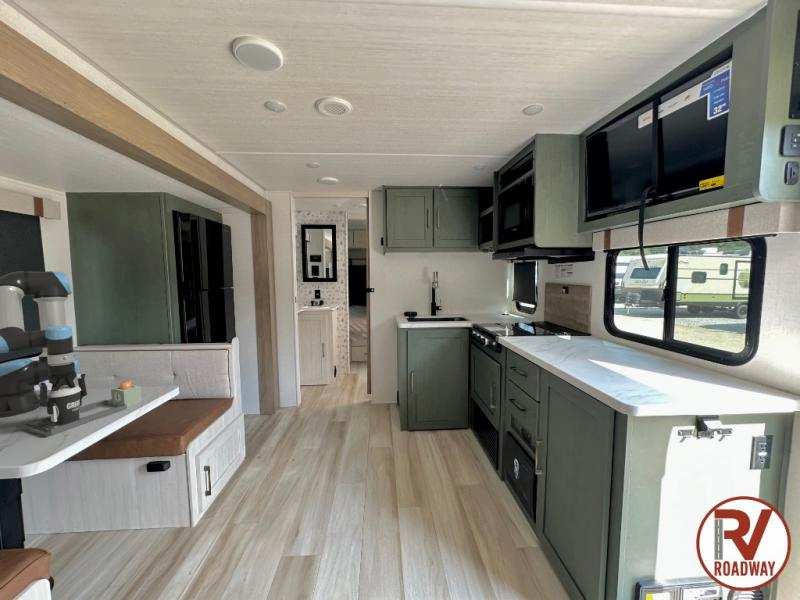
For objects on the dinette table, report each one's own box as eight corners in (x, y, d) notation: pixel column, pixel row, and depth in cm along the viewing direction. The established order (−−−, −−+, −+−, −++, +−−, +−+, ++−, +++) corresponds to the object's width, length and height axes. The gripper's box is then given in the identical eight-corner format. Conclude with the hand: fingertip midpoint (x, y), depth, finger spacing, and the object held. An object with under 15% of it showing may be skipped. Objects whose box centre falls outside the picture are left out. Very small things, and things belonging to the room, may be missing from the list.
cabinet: (110, 405, 151) (109, 389, 150) (129, 399, 158) (128, 383, 157) (123, 408, 147) (122, 391, 146) (141, 402, 154) (140, 386, 153)
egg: (119, 395, 151) (118, 383, 151) (128, 392, 155) (127, 380, 154) (124, 396, 150) (123, 384, 149) (133, 393, 153) (132, 381, 153)
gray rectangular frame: (24, 429, 127) (23, 423, 127) (105, 404, 151) (104, 399, 151) (46, 437, 121) (45, 431, 120) (127, 409, 145) (126, 404, 145)
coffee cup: (62, 429, 127) (58, 393, 126) (45, 426, 129) (41, 391, 128) (90, 418, 136) (86, 384, 135) (73, 416, 138) (70, 383, 137)
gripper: (32, 370, 120) (37, 429, 122) (96, 358, 138) (99, 409, 140) (22, 368, 123) (27, 426, 124) (86, 357, 141) (90, 407, 142)
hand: (65, 417), depth 132 cm, fingers closed on coffee cup, 6 cm apart
